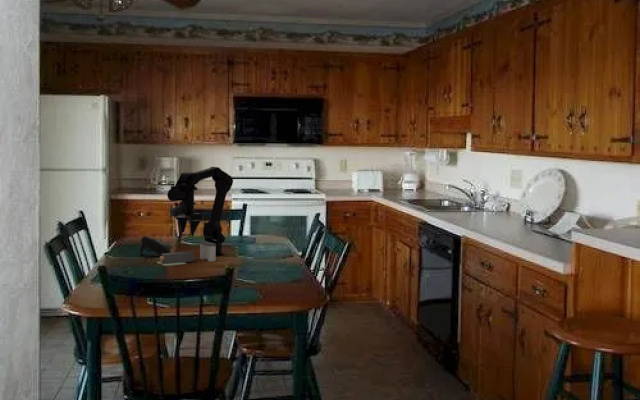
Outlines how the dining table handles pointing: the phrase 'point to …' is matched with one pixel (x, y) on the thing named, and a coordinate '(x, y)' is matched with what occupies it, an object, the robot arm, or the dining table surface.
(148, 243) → the gun
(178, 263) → the mat
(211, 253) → the clip
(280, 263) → the dining table surface
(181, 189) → the robot arm
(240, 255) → the dining table surface
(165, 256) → the grey tall block
